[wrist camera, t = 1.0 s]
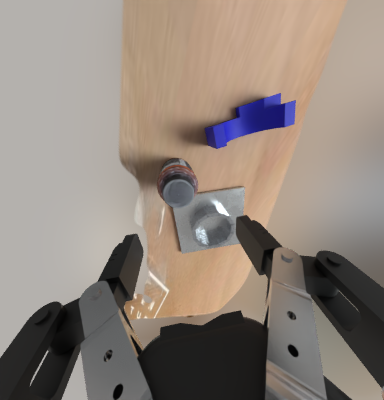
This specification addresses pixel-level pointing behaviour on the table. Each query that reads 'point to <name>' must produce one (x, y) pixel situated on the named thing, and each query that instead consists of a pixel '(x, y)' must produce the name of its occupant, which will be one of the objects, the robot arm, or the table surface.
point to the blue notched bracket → (252, 120)
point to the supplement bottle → (177, 183)
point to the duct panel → (210, 219)
